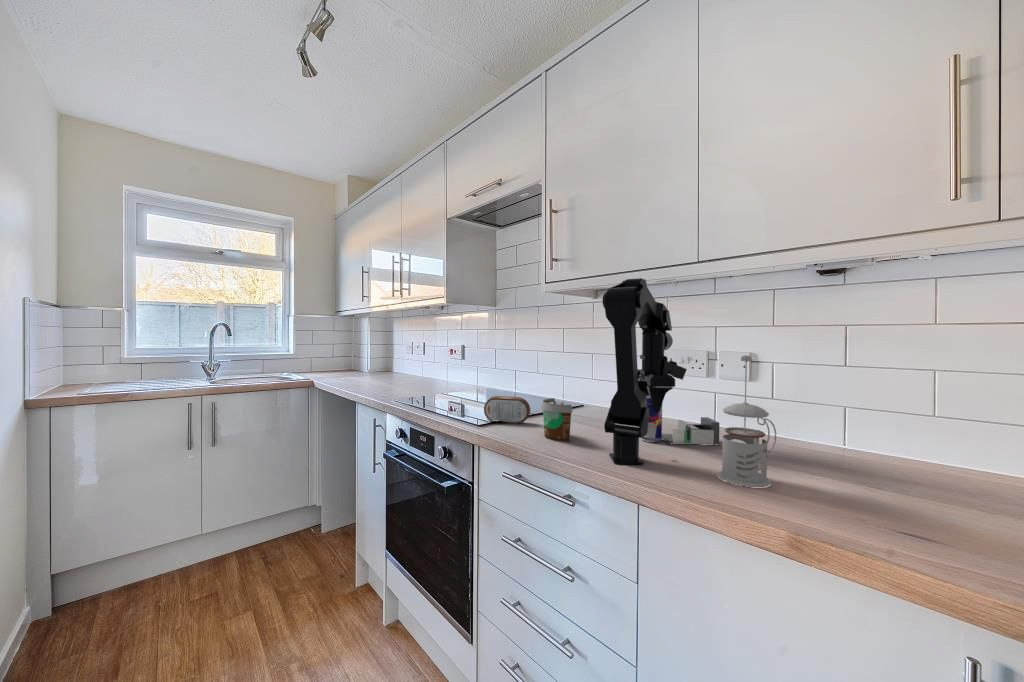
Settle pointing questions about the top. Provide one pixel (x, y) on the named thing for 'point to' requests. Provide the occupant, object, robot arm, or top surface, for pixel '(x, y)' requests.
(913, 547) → the top surface
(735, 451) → the french press
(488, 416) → the tin
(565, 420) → the food container
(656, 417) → the energy drink
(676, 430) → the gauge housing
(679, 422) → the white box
